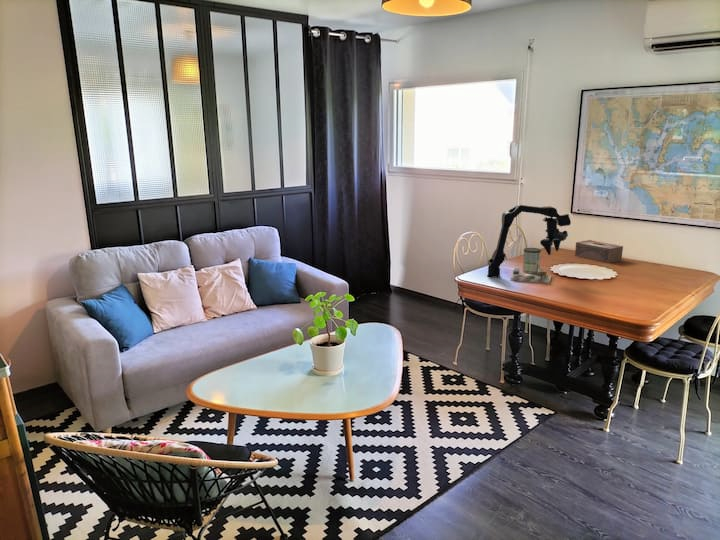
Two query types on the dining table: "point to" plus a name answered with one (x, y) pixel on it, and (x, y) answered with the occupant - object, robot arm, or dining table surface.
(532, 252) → the coffee can
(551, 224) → the robot arm
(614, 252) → the tissue box cover
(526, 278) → the base
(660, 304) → the dining table surface
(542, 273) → the gauge carriage
